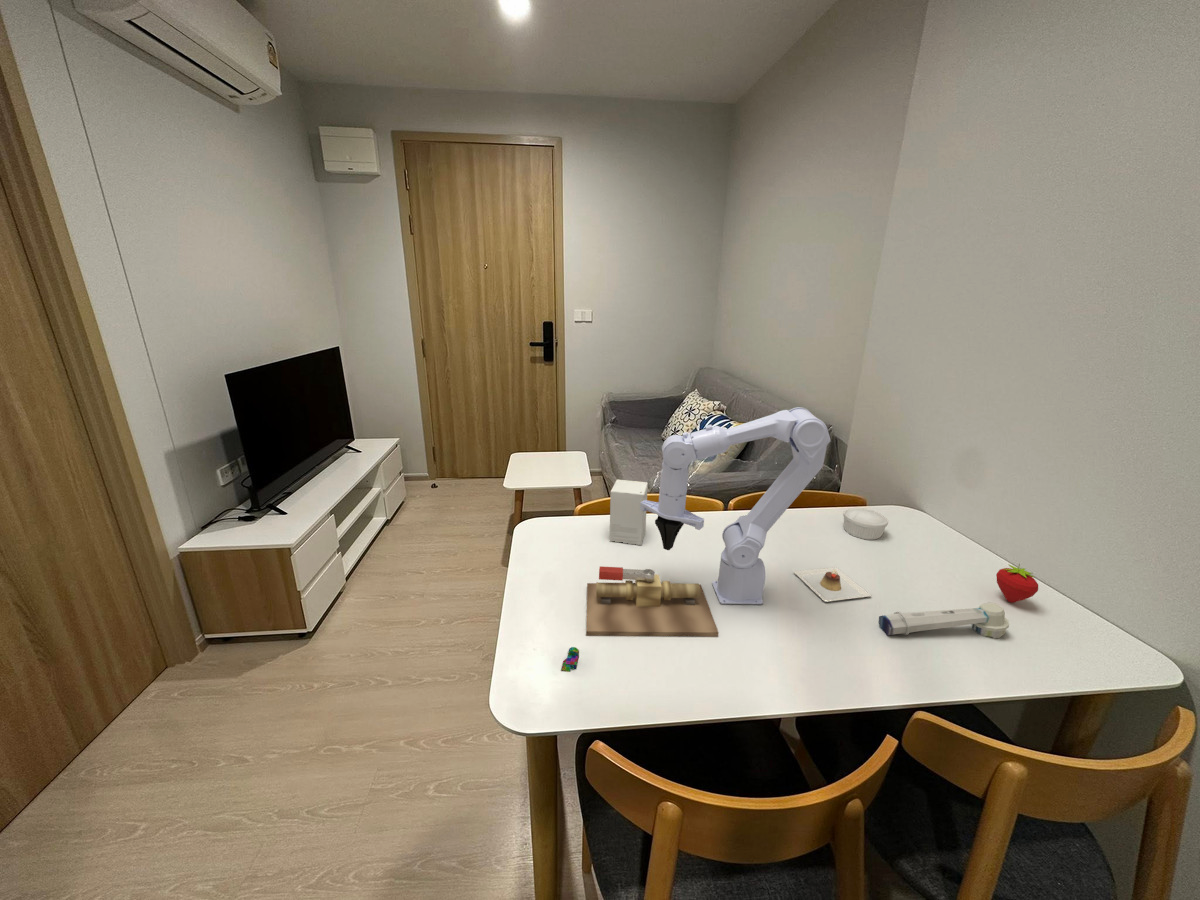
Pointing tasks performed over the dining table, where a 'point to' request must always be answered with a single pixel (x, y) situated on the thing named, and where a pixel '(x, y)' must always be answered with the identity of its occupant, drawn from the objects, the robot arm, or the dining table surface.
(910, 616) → the toothbrush head
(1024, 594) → the strawberry
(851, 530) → the ramekin
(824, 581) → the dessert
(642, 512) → the supplement box
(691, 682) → the dining table surface
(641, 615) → the valve board
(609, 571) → the valve lever
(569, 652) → the puzzle cube
